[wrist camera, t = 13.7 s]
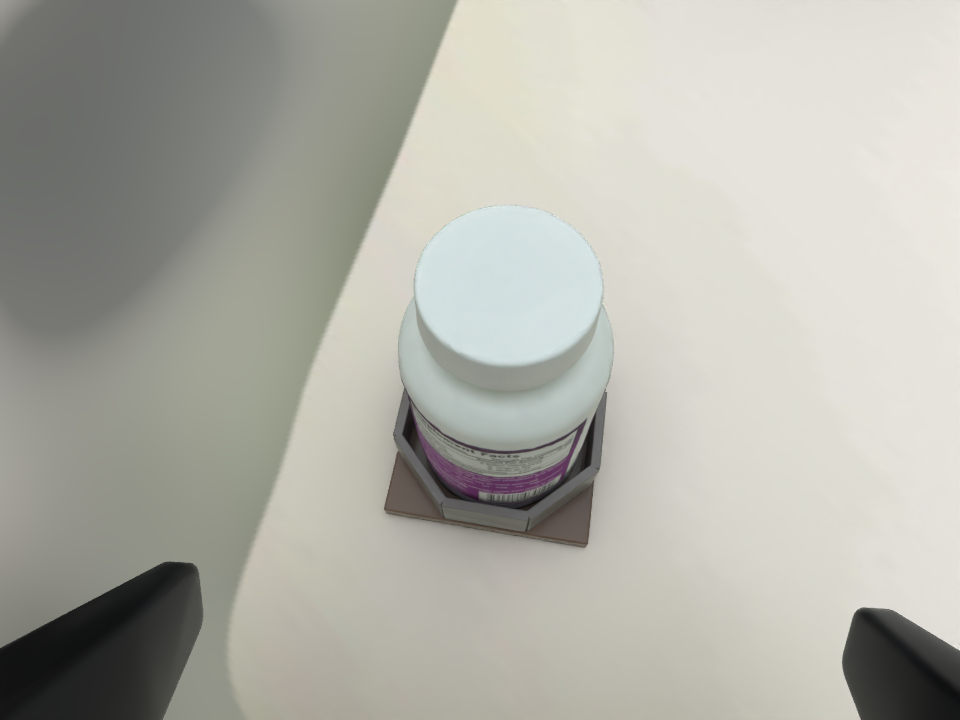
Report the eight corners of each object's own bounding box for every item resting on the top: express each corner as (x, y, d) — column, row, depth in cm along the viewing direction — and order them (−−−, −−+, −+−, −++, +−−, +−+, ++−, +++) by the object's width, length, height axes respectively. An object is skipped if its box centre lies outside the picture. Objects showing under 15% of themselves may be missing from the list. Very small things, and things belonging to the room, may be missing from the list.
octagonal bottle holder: (585, 547, 21) (595, 534, 19) (385, 513, 21) (376, 497, 20) (603, 365, 24) (613, 338, 22) (426, 339, 24) (421, 310, 22)
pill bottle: (468, 340, 24) (459, 144, 15) (604, 403, 23) (677, 229, 14) (391, 468, 22) (329, 324, 13) (536, 544, 20) (574, 442, 12)
